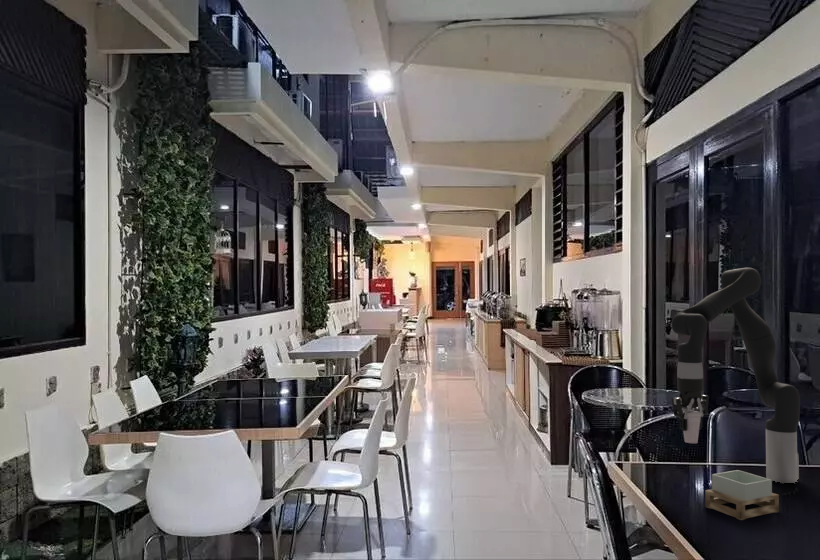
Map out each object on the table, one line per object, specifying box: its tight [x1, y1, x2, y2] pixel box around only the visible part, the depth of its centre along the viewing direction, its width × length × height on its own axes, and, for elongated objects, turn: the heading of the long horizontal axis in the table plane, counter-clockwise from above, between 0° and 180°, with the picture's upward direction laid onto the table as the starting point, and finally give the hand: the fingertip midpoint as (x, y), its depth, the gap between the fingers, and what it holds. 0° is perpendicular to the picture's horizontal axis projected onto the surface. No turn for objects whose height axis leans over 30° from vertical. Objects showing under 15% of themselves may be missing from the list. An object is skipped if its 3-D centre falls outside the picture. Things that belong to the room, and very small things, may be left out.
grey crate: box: [711, 469, 773, 501], centre depth 185 cm, size 11×11×5 cm
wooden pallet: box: [704, 488, 780, 521], centre depth 185 cm, size 16×12×5 cm
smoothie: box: [682, 408, 702, 444], centre depth 198 cm, size 6×6×14 cm
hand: (691, 429), depth 197 cm, fingers closed on smoothie, 5 cm apart
